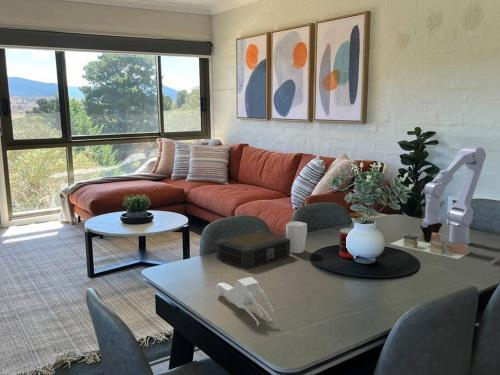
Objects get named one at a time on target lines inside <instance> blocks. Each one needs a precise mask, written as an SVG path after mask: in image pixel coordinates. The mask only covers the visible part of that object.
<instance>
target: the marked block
mask: <svg viewBox="0 0 500 375" xmlns="http://www.w3.org/2000/svg"><path fill="white" fill-rule="evenodd" d="M403 238H404V244H403V246H406V247H410V248H414V247H416V246H418V241H419V236H418V235H414V234H406V235H404V236H403ZM406 247H405V248H406ZM410 248H409V249H410Z"/></svg>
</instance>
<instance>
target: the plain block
mask: <svg viewBox="0 0 500 375" xmlns="http://www.w3.org/2000/svg"><path fill="white" fill-rule="evenodd" d="M430 244H431V245H430V252H433V253H438V254H441V253H443V252H445V247H446V241H444V240H441V239H440V240H433V241H431V242H430ZM433 253H432V254H433ZM438 254H437V255H438Z"/></svg>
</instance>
